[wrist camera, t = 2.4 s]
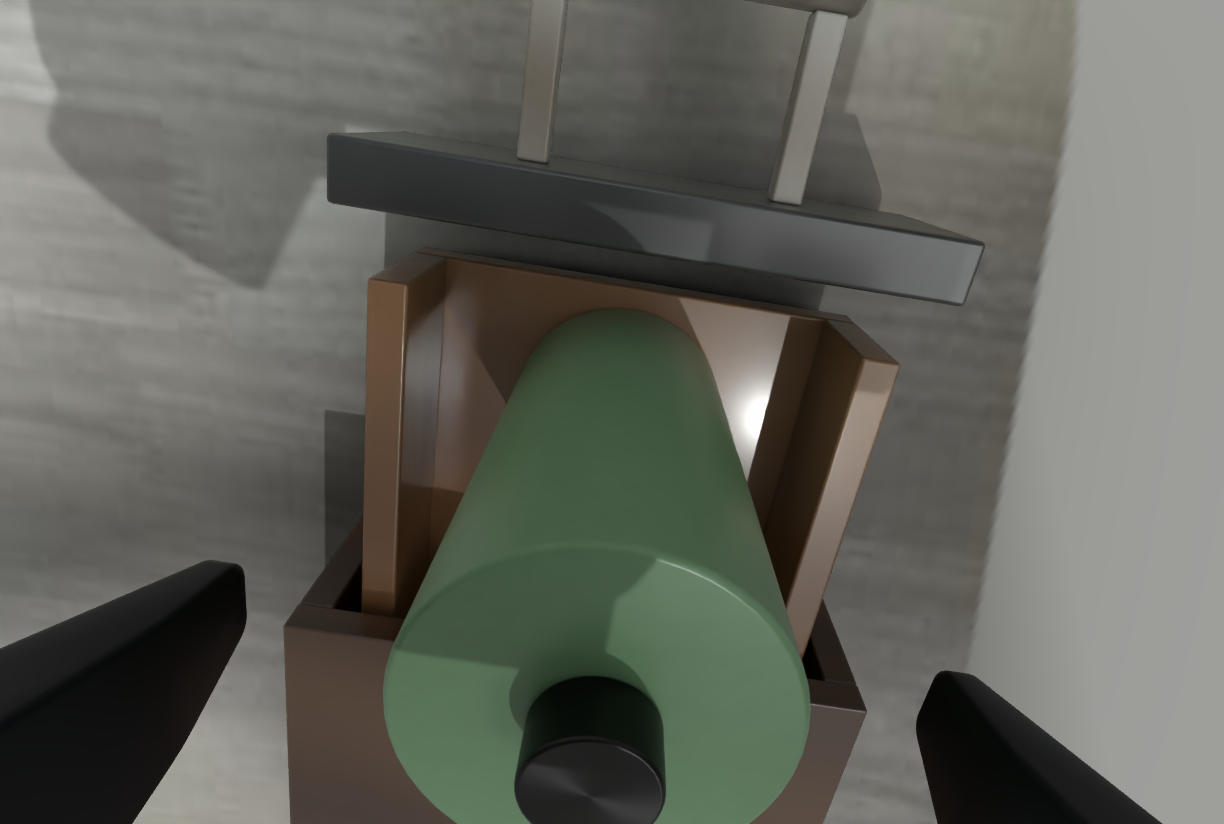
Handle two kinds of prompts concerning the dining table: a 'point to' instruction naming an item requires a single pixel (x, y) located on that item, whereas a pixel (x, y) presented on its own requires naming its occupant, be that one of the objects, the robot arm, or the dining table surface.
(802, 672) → the green bottle
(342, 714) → the cabinet
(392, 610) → the drawer
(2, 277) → the dining table surface
